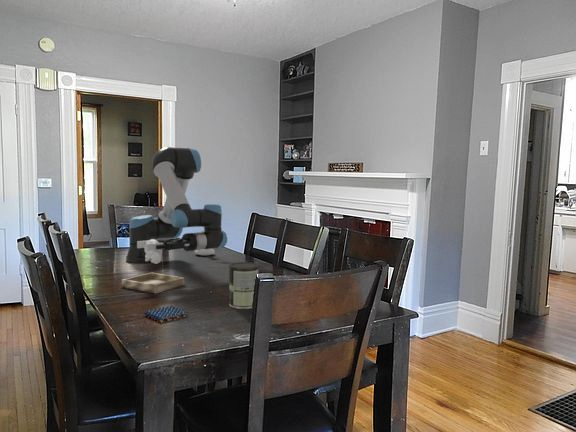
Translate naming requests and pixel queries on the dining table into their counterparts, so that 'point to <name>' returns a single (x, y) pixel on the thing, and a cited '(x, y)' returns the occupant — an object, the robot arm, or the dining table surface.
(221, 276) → the dining table surface
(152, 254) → the white rounded lump
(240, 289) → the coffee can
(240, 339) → the dining table surface
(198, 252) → the flower in vase
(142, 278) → the birch tray
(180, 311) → the woven mat
